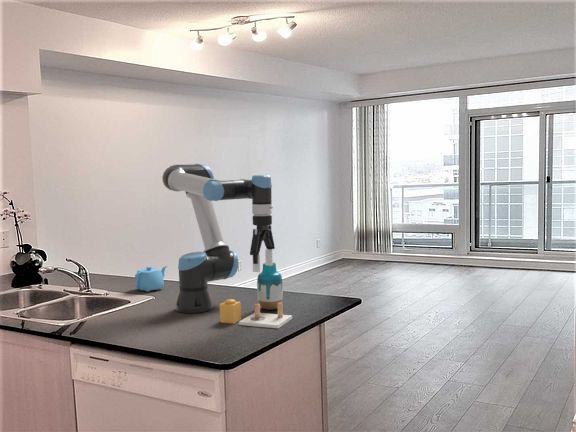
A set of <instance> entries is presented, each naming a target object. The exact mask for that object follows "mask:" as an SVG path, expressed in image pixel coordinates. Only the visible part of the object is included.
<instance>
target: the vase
mask: <svg viewBox="0 0 576 432" xmlns="http://www.w3.org/2000/svg"><path fill="white" fill-rule="evenodd" d="M283 284H284V283H283V277H282V274H281V273H280V272H279V271H278V270H277V263H276V262H272V266H267V265H266V262H264V263H262V269H261V271H260V272H259V274H258V275H257V278H256V293H257V294H256V295H257V302H258V304H260V308H261V309H264V310H276V309H277V310H278V307H277V303H279V302H282V303H283V299H284V296H283V295H284V294H283V293H284V290H283V289H284V285H283Z"/></svg>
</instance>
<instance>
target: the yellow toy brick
mask: <svg viewBox="0 0 576 432" xmlns="http://www.w3.org/2000/svg"><path fill="white" fill-rule="evenodd" d="M241 320H242V303H241V301H236V299H235V298H230V299H229V298H228V299H225V300H224V301H223V302H221V303H220V304H219V321H220V323H223V324H236V323H237V322H238V323H239V321H241Z"/></svg>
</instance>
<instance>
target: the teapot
mask: <svg viewBox="0 0 576 432" xmlns="http://www.w3.org/2000/svg"><path fill="white" fill-rule="evenodd" d="M167 267H168V265H164V266H162V268H161V269H158V268H154V267H152V266H146V267H145V268H144V269H138V270H137V271H136V273H135V275H134V280H135V288H136V289H138V290H140V291H143V292H144V291H145V293H148V292H151V291H154V290H155V291H159V290H161V289H164V285H165V282H164V281H165V280H164V279H165V273H166V272H165V271H166V268H167Z"/></svg>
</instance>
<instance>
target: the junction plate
mask: <svg viewBox="0 0 576 432" xmlns="http://www.w3.org/2000/svg"><path fill="white" fill-rule="evenodd" d="M283 303H284V302H283V301H282V302H279V303H277V307H278V308H277V313H276V314H275V313H266V312H265V313H264V312H261V306H260V304H259V303H254V312H253V313H251V314H250V315H248V316H246V317H244V318H243V319H241V320H240V321H238V325H239V326H247V327H248V326H249V327H256V328H257V327H259V328H269V329H280V328H281V327H283V326H284V325H285V324H287V323H288V322H290V321H291V320H293V315H290V314H289V315H288V314H284V312H283V311H284V310H283V309H284V306H283Z"/></svg>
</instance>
